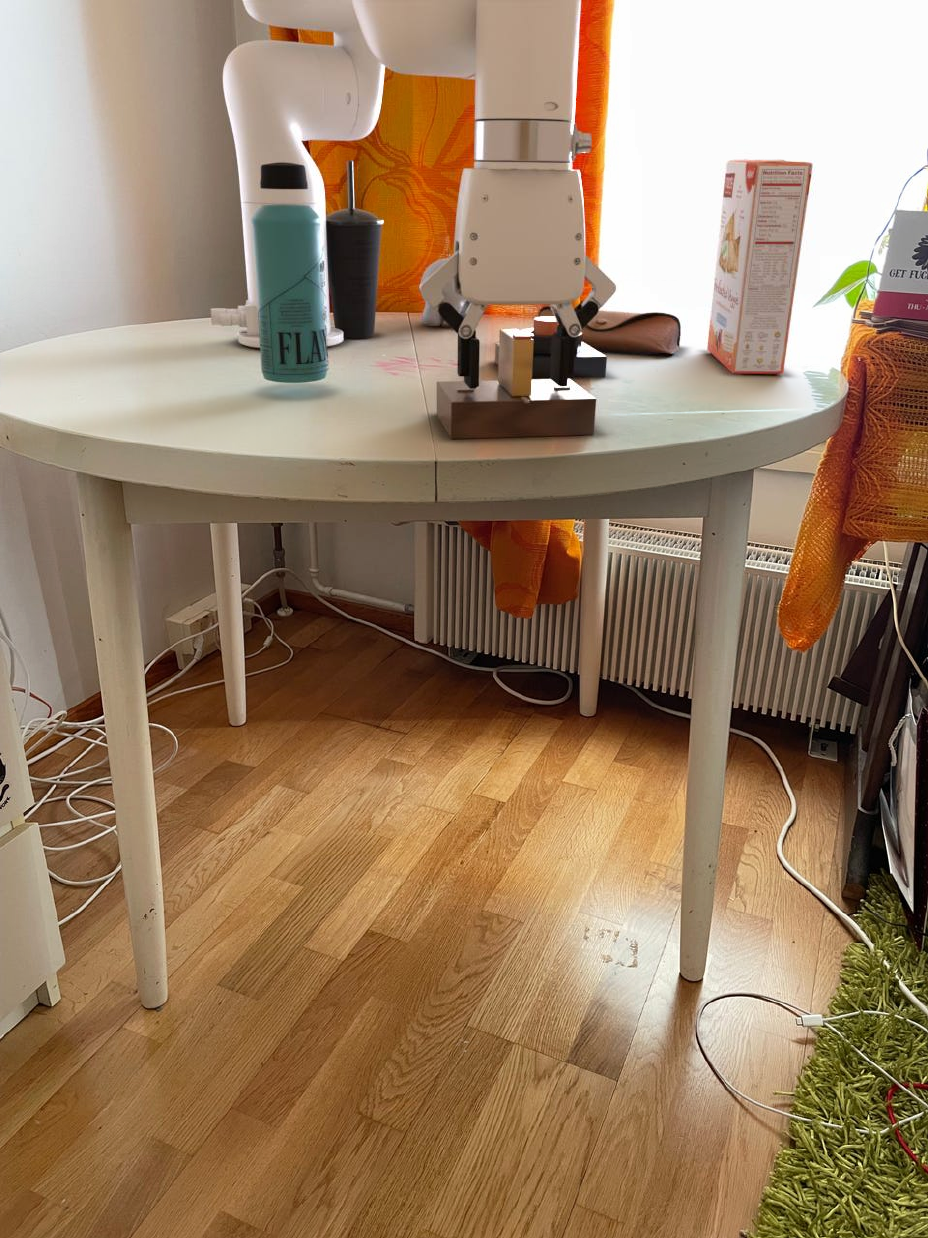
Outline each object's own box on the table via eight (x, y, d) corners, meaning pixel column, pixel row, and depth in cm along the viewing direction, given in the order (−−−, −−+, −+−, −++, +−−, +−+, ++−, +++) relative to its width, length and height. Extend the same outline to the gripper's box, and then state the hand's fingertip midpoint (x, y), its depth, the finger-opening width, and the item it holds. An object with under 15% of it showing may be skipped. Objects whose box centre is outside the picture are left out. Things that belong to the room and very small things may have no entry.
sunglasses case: (521, 343, 118) (530, 290, 118) (531, 365, 124) (538, 314, 125) (674, 354, 113) (682, 298, 114) (675, 375, 120) (683, 323, 121)
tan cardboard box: (497, 382, 85) (499, 326, 83) (515, 382, 86) (517, 325, 84) (512, 396, 80) (514, 336, 78) (531, 396, 81) (533, 336, 79)
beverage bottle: (273, 401, 91) (257, 162, 82) (252, 387, 96) (235, 161, 88) (340, 395, 94) (331, 163, 85) (316, 382, 99) (305, 162, 90)
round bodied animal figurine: (487, 317, 140) (488, 254, 137) (466, 330, 130) (467, 261, 126) (438, 315, 142) (438, 252, 138) (414, 327, 131) (413, 259, 128)
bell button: (537, 338, 103) (538, 321, 102) (529, 333, 106) (530, 316, 105) (571, 338, 103) (572, 321, 103) (562, 332, 107) (563, 316, 106)
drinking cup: (375, 342, 121) (372, 161, 112) (316, 339, 122) (308, 160, 113) (392, 332, 127) (390, 161, 119) (335, 329, 129) (329, 160, 120)
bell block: (512, 379, 101) (513, 339, 100) (494, 363, 109) (495, 325, 108) (605, 377, 103) (608, 338, 101) (581, 361, 111) (584, 324, 109)
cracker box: (702, 351, 118) (724, 158, 109) (753, 352, 118) (779, 159, 109) (727, 374, 106) (754, 158, 97) (784, 375, 105) (816, 159, 96)
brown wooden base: (452, 441, 79) (453, 402, 78) (435, 413, 88) (435, 377, 86) (597, 437, 81) (599, 399, 80) (565, 410, 90) (567, 374, 88)
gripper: (617, 150, 80) (601, 373, 87) (404, 147, 77) (406, 377, 85) (648, 150, 73) (628, 391, 81) (416, 146, 70) (418, 396, 78)
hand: (515, 382), depth 83 cm, fingers open, 6 cm apart
